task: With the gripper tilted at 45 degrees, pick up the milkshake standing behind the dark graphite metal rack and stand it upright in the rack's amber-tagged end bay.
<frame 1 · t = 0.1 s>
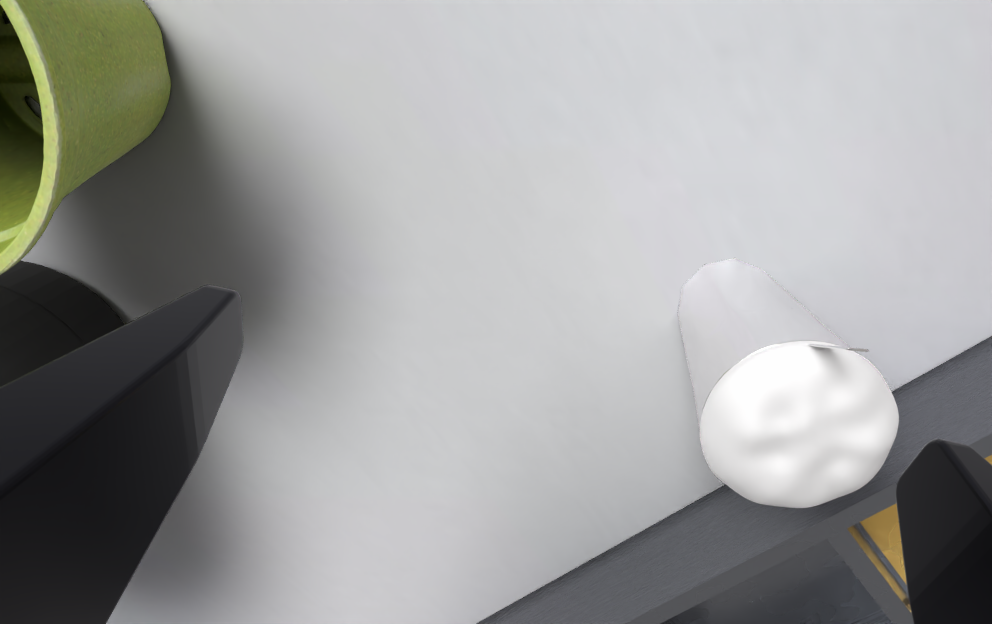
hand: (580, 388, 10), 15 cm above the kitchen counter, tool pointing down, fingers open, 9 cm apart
plant pot: (83, 60, 24), on the kitchen counter
milkshake: (726, 289, 25), on the kitchen counter
pen holder: (44, 359, 28), on the kitchen counter
rack: (756, 571, 30), on the kitchen counter
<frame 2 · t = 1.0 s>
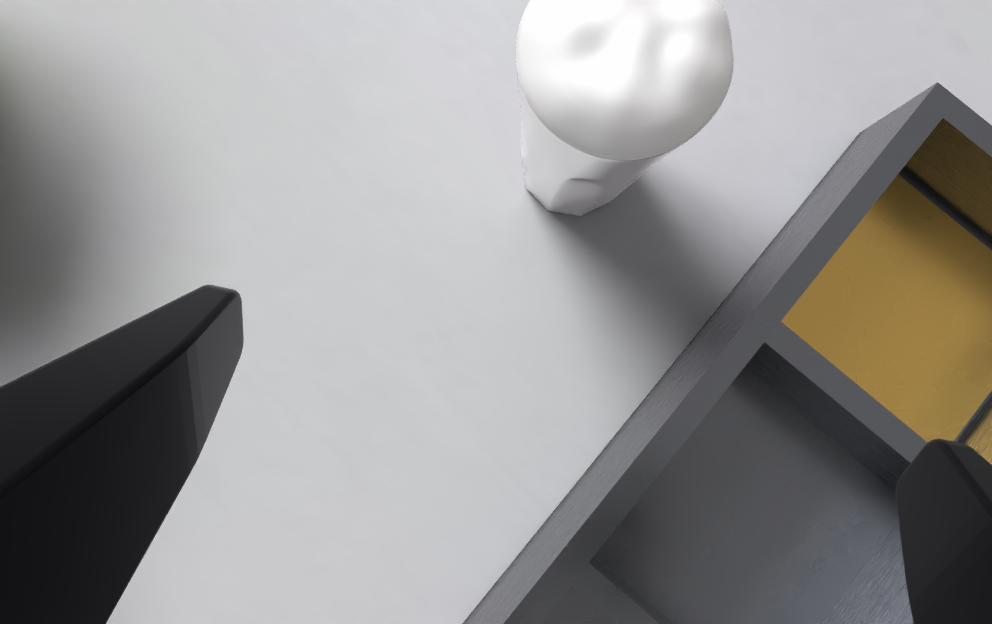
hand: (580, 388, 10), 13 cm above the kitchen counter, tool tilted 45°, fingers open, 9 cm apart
milkshake: (569, 156, 24), on the kitchen counter
rack: (732, 515, 23), on the kitchen counter
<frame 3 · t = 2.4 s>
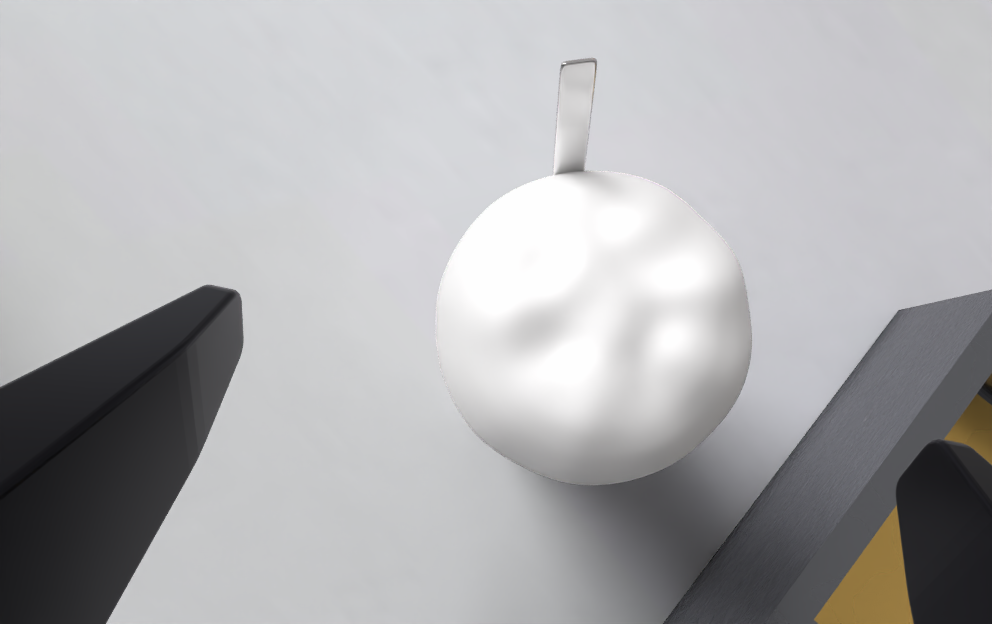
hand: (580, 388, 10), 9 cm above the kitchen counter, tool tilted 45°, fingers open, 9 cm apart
milkshake: (535, 343, 19), on the kitchen counter
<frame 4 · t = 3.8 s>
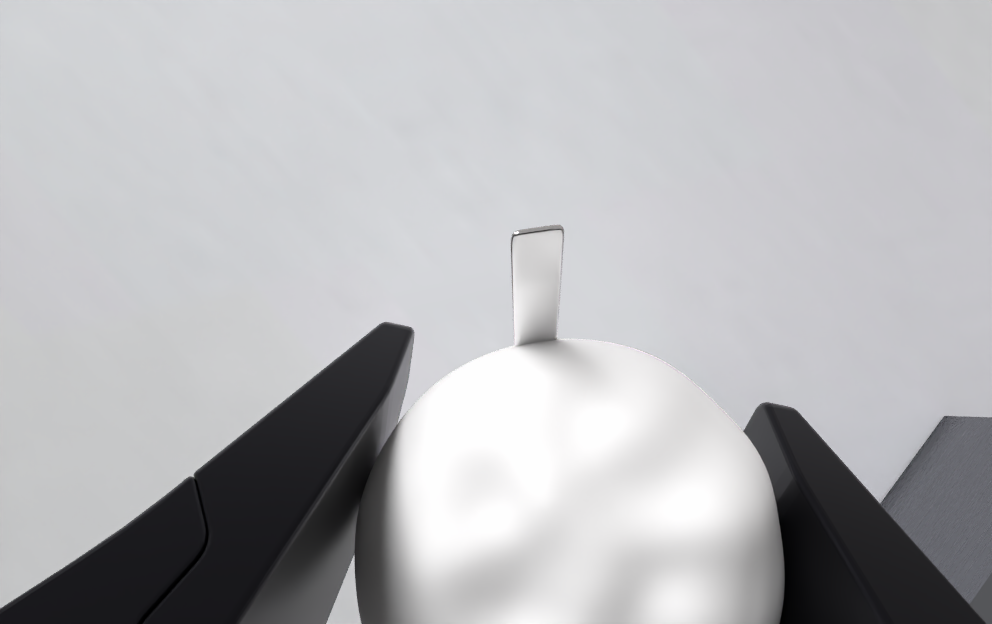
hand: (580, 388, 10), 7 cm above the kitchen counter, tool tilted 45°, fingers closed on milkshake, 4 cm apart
milkshake: (519, 457, 16), on the kitchen counter, touching gripper
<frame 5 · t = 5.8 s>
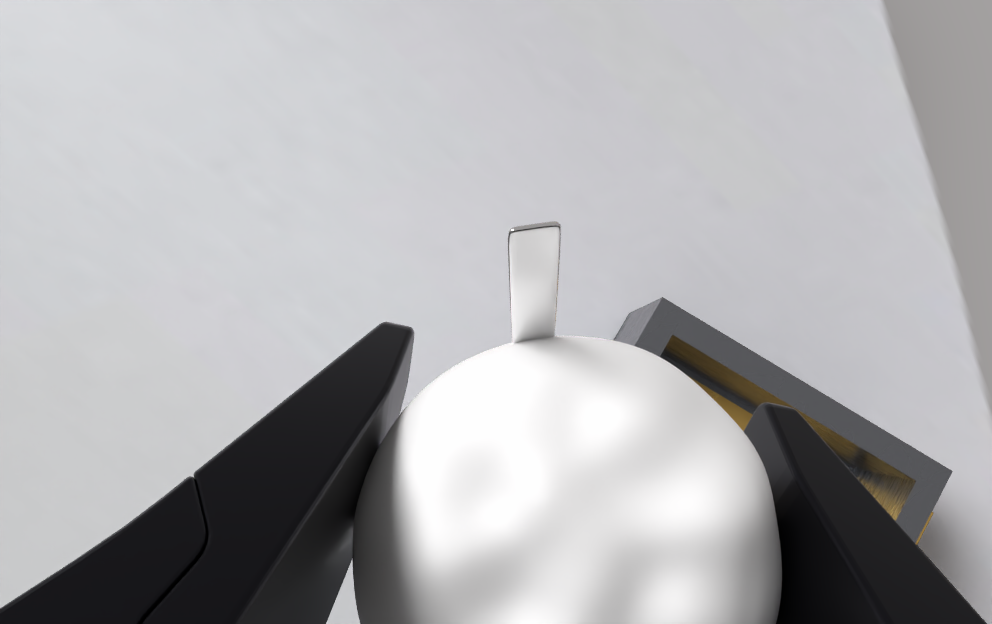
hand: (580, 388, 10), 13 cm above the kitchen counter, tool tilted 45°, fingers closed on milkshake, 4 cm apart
milkshake: (518, 454, 16), point 6 cm above the kitchen counter, touching gripper
when the fingers open (9 cm above the kitchen counter, at t = 8.1 s): milkshake drops 1 cm, resting on rack.
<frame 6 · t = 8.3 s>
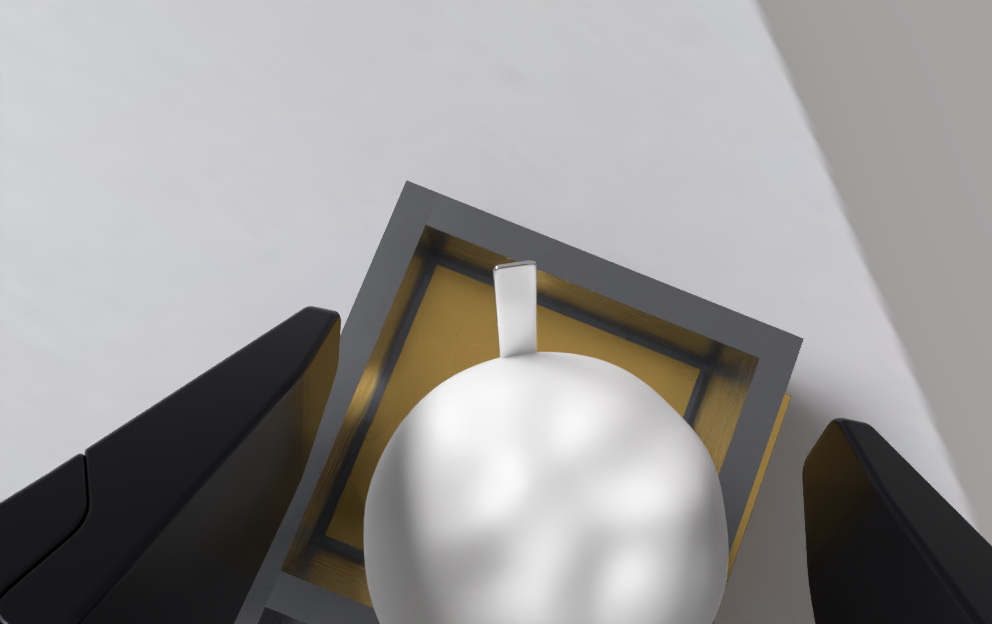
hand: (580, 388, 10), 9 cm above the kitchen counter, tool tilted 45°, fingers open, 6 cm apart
milkshake: (514, 457, 17), point 1 cm above the kitchen counter, touching rack
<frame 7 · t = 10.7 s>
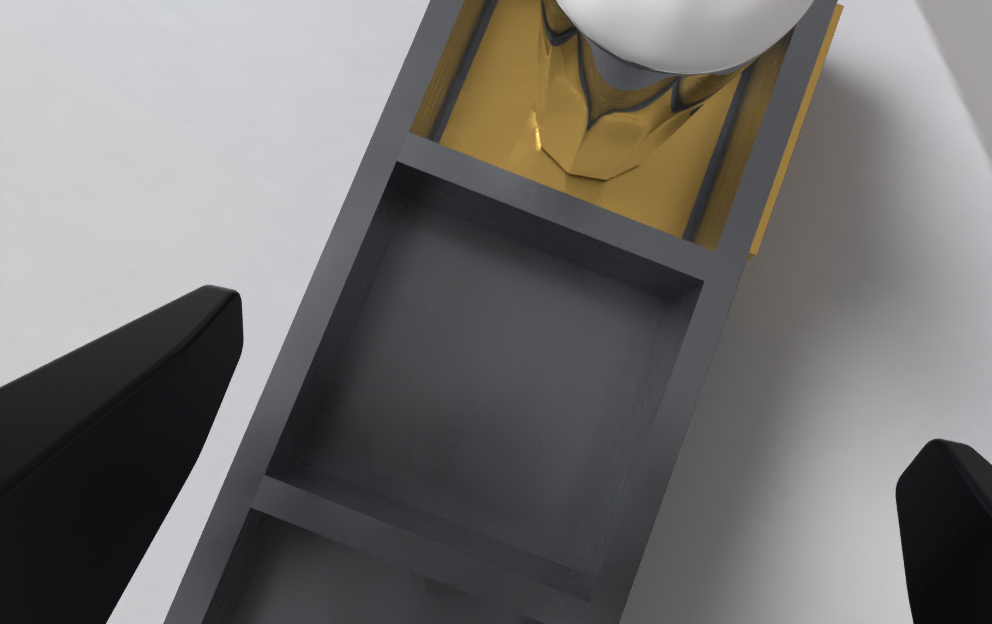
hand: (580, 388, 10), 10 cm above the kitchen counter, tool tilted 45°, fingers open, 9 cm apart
milkshake: (592, 109, 20), point 1 cm above the kitchen counter, touching rack
rack: (485, 380, 20), on the kitchen counter
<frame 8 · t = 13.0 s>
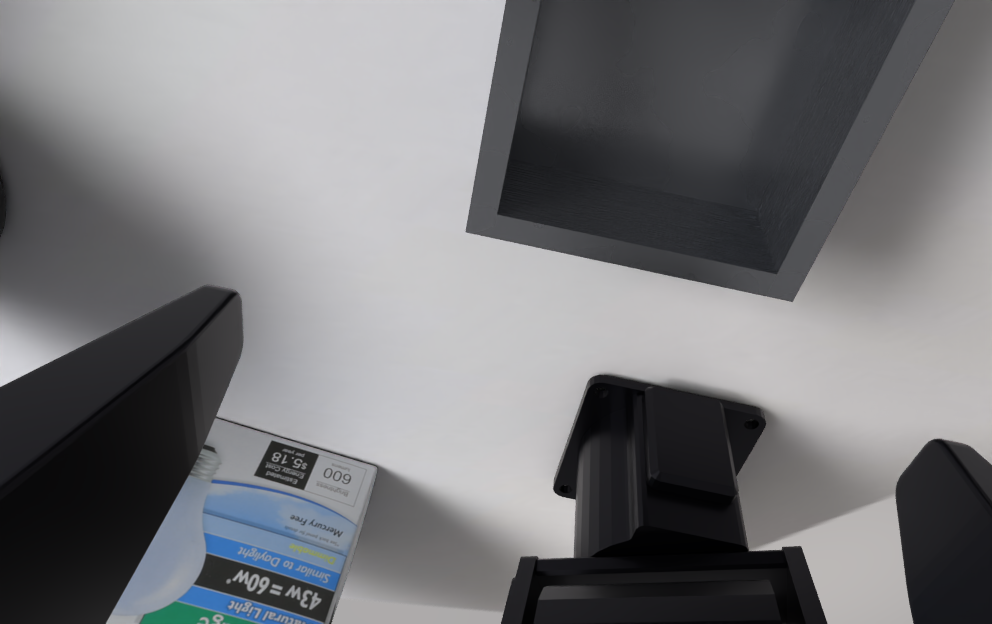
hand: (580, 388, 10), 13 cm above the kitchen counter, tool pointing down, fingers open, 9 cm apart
light bulb box: (252, 472, 33), on the kitchen counter
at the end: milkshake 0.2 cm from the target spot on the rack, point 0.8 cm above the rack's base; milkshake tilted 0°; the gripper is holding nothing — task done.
